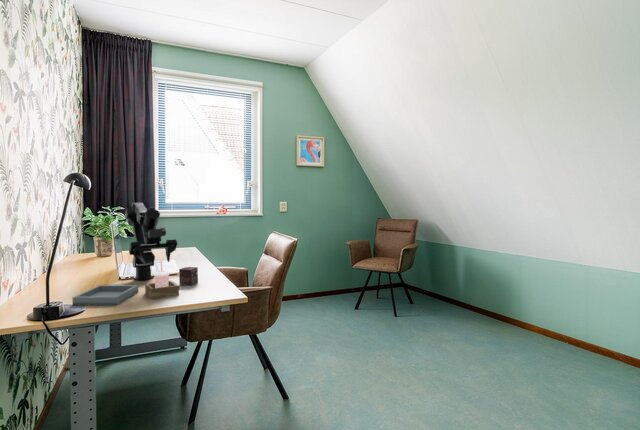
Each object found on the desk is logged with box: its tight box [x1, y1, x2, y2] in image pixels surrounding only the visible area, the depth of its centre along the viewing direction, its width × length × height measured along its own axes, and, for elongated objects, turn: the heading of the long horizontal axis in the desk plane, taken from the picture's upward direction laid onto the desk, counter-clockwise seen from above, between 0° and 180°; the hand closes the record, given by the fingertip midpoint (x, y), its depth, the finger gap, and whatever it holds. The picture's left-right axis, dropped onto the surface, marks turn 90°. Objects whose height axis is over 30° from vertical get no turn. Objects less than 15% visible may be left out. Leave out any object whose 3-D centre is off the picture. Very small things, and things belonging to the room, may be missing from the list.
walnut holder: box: [144, 280, 180, 300], centre depth 157 cm, size 10×10×4 cm
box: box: [178, 266, 199, 287], centre depth 175 cm, size 6×6×7 cm
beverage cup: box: [153, 260, 171, 288], centre depth 157 cm, size 6×6×14 cm
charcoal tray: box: [72, 284, 139, 306], centre depth 151 cm, size 18×16×3 cm
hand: (157, 262), depth 162 cm, fingers open, 9 cm apart
